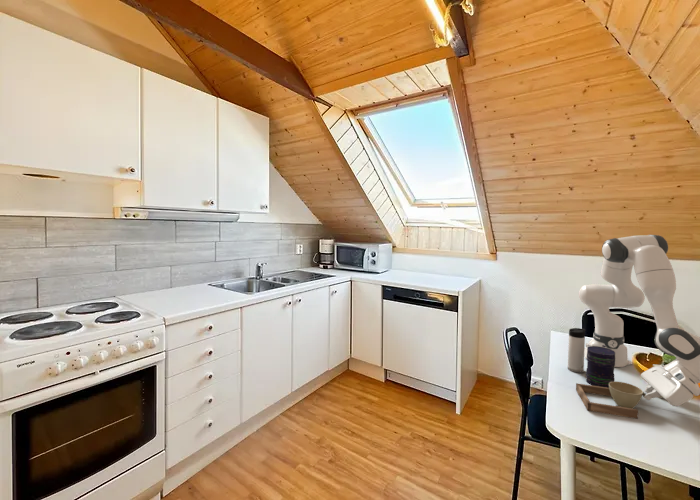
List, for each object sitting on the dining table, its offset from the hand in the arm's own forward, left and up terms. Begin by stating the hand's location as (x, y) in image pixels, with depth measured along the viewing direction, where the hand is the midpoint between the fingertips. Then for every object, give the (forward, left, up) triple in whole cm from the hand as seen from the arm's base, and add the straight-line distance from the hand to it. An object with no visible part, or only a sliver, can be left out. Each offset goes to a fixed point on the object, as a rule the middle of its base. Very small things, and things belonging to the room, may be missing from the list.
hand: (643, 397), depth 122 cm
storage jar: (-18, -8, -5) cm, 21 cm away
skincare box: (-14, +12, -5) cm, 19 cm away
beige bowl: (-1, -5, -5) cm, 7 cm away
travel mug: (-30, -14, -5) cm, 34 cm away
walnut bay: (0, -11, -5) cm, 12 cm away
